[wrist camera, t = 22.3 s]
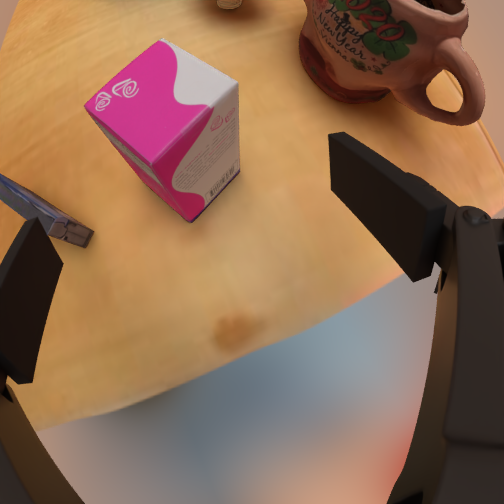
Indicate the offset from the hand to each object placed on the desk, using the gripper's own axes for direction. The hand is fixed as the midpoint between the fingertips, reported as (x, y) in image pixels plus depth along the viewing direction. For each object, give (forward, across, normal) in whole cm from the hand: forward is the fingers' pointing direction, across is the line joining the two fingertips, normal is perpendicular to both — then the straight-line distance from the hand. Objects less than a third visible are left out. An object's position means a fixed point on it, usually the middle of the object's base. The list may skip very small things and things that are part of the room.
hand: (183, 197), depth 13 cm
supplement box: (+12, 0, -4) cm, 13 cm away
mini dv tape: (+12, -12, -4) cm, 17 cm away
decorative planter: (+16, +18, 0) cm, 24 cm away
